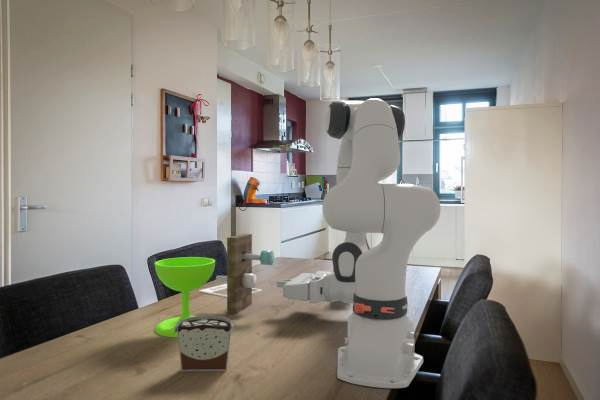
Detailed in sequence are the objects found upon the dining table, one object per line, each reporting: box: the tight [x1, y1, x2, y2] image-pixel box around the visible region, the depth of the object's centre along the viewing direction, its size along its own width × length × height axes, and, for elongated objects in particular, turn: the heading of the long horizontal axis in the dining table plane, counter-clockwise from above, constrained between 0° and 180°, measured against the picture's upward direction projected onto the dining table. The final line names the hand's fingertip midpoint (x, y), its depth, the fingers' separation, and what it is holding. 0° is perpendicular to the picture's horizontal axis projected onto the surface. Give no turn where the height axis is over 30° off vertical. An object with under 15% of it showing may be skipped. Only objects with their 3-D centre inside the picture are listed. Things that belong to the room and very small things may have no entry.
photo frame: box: [198, 283, 263, 298], centre depth 161 cm, size 15×1×18 cm
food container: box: [174, 314, 235, 372], centre depth 93 cm, size 12×6×10 cm, turn 92°
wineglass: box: [154, 256, 216, 338], centre depth 119 cm, size 16×16×18 cm
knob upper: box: [242, 249, 275, 266], centre depth 136 cm, size 13×4×4 cm, turn 73°
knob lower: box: [215, 273, 257, 288], centre depth 138 cm, size 13×4×4 cm, turn 73°
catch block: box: [226, 233, 253, 315], centre depth 138 cm, size 3×12×23 cm, turn 163°
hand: (278, 283), depth 134 cm, fingers closed
